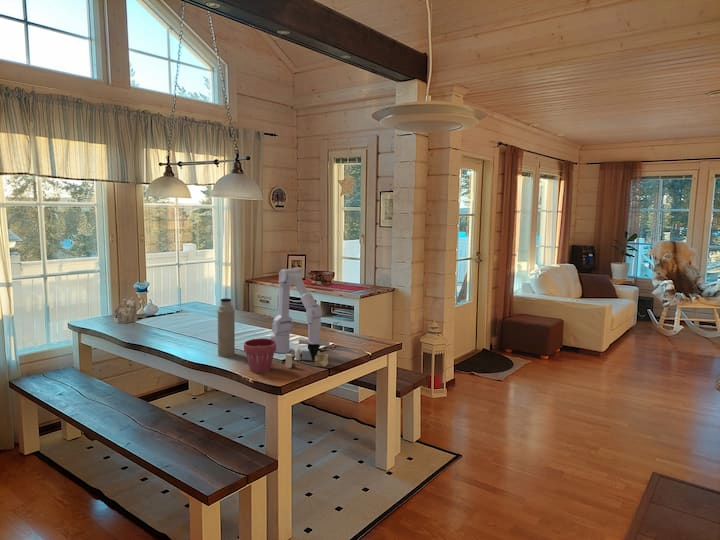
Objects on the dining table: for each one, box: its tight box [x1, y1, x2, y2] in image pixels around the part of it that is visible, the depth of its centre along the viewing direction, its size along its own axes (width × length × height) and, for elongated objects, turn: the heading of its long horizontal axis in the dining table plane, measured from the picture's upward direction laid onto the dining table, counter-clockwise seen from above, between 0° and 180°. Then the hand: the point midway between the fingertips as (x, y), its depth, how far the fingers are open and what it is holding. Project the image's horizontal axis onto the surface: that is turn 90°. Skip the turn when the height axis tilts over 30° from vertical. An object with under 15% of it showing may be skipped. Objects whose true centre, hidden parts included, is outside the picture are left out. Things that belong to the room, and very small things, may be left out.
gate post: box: [293, 348, 302, 361], centre depth 241 cm, size 4×4×5 cm
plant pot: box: [243, 338, 276, 374], centre depth 223 cm, size 14×14×13 cm
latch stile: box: [285, 353, 293, 369], centre depth 231 cm, size 3×7×6 cm, turn 168°
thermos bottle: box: [217, 297, 236, 358], centre depth 243 cm, size 8×8×28 cm
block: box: [314, 353, 329, 368], centre depth 233 cm, size 5×5×4 cm
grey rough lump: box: [113, 296, 139, 324], centre depth 310 cm, size 16×16×15 cm
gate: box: [301, 349, 321, 362], centre depth 239 cm, size 9×1×4 cm, turn 78°
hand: (313, 359), depth 234 cm, fingers closed
